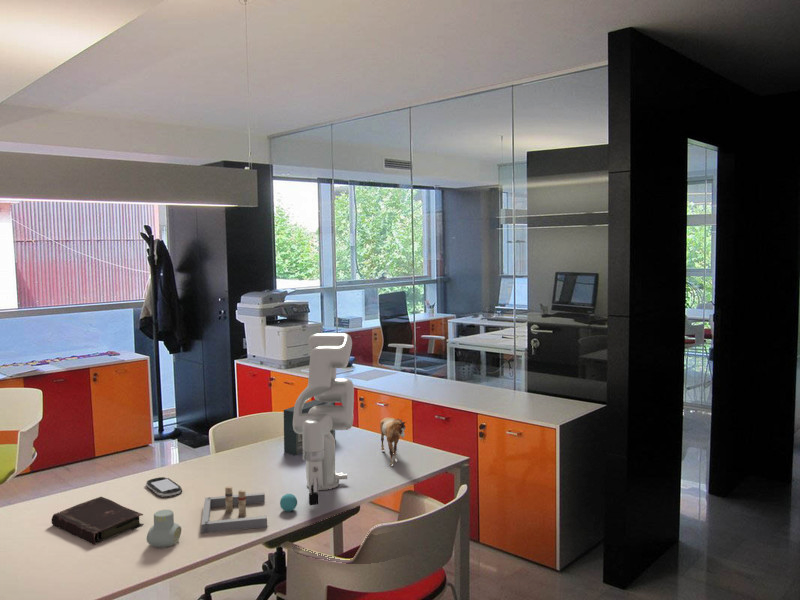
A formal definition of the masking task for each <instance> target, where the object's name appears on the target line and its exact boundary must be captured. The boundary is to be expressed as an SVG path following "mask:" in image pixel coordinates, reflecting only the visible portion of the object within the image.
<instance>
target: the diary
mask: <svg viewBox="0 0 800 600" xmlns="http://www.w3.org/2000/svg"><path fill="white" fill-rule="evenodd" d="M140 516H141V517H142V516H144V514H143V513H142V512H141V513H140V512H138V511H136V510H133V509H130V508H128V507H126V506H123V505H121V504H119V503H118V502H116V501H113V500H111V499H109V498H106V497H103V496H98V497H96V498H92V499H90V500H87V501H84V502H80V503H79V504H75V505H73V506H71V507H69V508H65V509H64V510H61V511H58V512H55V513H53V515H52V517H51V524H52V526H54V527H56V528H57V529H60V530H62V531H65V532H66V533H68V534H71V535H72V536H74V537H77V538H78V539H81V540H83V541H86V542H87V543H89V544H91V545H93V546H96V545H97V543H100V541H106V540H108V539H110V538H114V537H115V536H117V535H120V534H123V533H125V532H127V531H130V530H131V531H133V530H136V529H138V528H141V527H143V526H144V524H145V523H141V522H140ZM96 542H97V543H96Z"/></svg>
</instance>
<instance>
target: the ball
mask: <svg viewBox="0 0 800 600" xmlns="http://www.w3.org/2000/svg"><path fill="white" fill-rule="evenodd" d="M279 505H280V508H281V509H282V510H283V511H285V512H292V511H294V510H295V509H296V508H297V505H298V499H297V497H296V496H295V495H294V494H293V493H286V494H284V495H283V496H282V497H281V498H280V501H279Z"/></svg>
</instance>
